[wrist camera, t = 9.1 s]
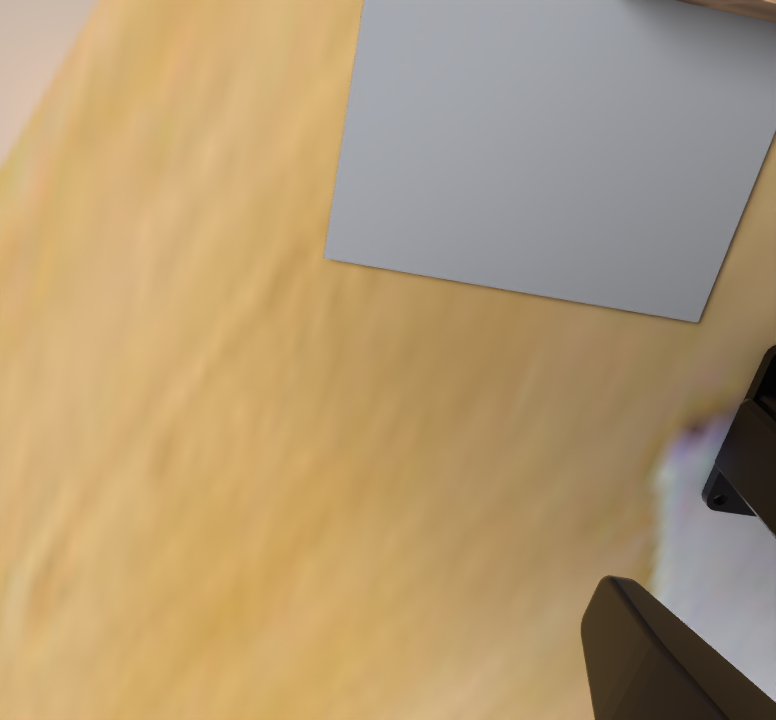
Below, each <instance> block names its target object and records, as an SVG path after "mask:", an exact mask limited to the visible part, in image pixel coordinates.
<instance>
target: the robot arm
mask: <svg viewBox="0 0 776 720" xmlns="http://www.w3.org/2000/svg"><path fill="white" fill-rule="evenodd" d="M718 494H721V496H720V497H718V498H715V496H716V495H718ZM702 499H703V501H704V502H705V503H706V505H707V506H708V507H709V508H710V509H712V510H714V511H721V512H728V513H735V514H742V515H749V516H756V517H758V518H759V519H760V520H761V522H762V523H763V524H764V525H765V526H766V528H767V529H768V530H769V531H770V532H771V534H772V535H773V536H774V537H775V539H776V345H774V346H772V347H771V348H770V349H768V351H767V352H766V353H765V355H764V357H763V359H762V362H761V364H760V366H759V368H758V370H757V373H756V375H755V377H754V379H753V381H752V384H751V386H750V388H749V390H748V392H747V394H746V397H745V399H744V401H743V403H742V404H741V405H740V407H739V410H738V412H737V414H736V416H735V418H734V421H733V423H732V425H731V427H730V429H729V432H728V434H727V436H726V438H725V440H724V442H723V445H722V447H721V449H720V451H719V453H718V456H717V458H716V460H715V465H714V467H713V469H712V471H711V473H710V476H709V478H708V480H707V482H706V484H705V487H704V489H703V491H702ZM581 638H582V645H583V651H584V657H585V663H586V669H587V675H588V681H589V687H590V693H591V699H592V706H593V712H594V718H595V720H776V702H774V701H773V700H772V699H771V698H770V697H769V696H767V695H766V694H765V693H764V692H763V691H762V690H761V689H759V688H758V687H757V686H756V685H755V684H754V683H752V682H751V681H750V680H749V679H748V678H747V677H746V676H744V675H743V674H742V673H741V672H740V671H739V670H737V669H736V668H735V667H734V666H733V665H732V664H731V663H729V662H728V661H727V660H726V659H725V658H724V657H722V656H721V655H720V654H719V653H718V652H717V651H716V650H714V649H713V648H712V647H711V646H710V645H709V644H707V643H706V642H705V641H704V640H703V639H702V638H701V637H699V636H698V635H697V634H696V633H695V632H694V631H693V630H691V629H690V628H689V627H688V626H687V625H686V624H684V623H683V622H682V621H681V620H680V619H679V618H678V617H676V616H675V615H674V614H673V613H672V612H671V611H669V610H668V609H667V608H666V607H665V606H664V605H663V604H661V603H660V602H659V601H658V600H657V599H656V598H654V597H653V596H652V595H651V594H650V593H649V592H648V591H646V590H645V589H644V588H643V587H642V586H641V585H640V584H638V583H637V582H636V581H634V580H632V579H629V578H623V577H617V576H610V575H609V576H605V577H603V578H602V579H601V580H600V582H599V584H598V586H597V588H596V590H595V592H594V594H593V596H592V598H591V600H590V603H589V605H588V607H587V609H586V611H585V613H584V615H583V618H582V622H581Z"/></svg>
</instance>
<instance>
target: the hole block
mask: <svg viewBox="0 0 776 720" xmlns="http://www.w3.org/2000/svg"><path fill="white" fill-rule="evenodd" d="M676 1H680V2H685V3H689V4H694V5H698V6H702V7H707V8H711V9H716V10H720V11H724V12H729V13H733V14H738V15H742V16H747V17H751V18H755V19H760V20H764V21H769V22H773V23H776V0H676Z"/></svg>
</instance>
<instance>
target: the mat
mask: <svg viewBox="0 0 776 720" xmlns="http://www.w3.org/2000/svg"><path fill="white" fill-rule="evenodd" d="M775 131H776V23H773V22H769V21H764V20H760V19H755V18H751V17H747V16H742V15H738V14H733V13H729V12H724V11H720V10H716V9H711V8H707V7H702V6H698V5H694V4H689V3H685V2H680V1H676V0H364V1H363V7H362V14H361V20H360V27H359V33H358V39H357V46H356V52H355V59H354V65H353V71H352V78H351V84H350V91H349V97H348V103H347V110H346V116H345V123H344V129H343V135H342V142H341V148H340V155H339V161H338V167H337V174H336V180H335V186H334V193H333V199H332V206H331V212H330V218H329V225H328V231H327V238H326V244H325V250H324V257H323V258H325V259H331V260H337V261H342V262H348V263H354V264H360V265H366V266H372V267H377V268H383V269H389V270H395V271H401V272H406V273H412V274H418V275H424V276H430V277H435V278H441V279H447V280H453V281H459V282H464V283H470V284H476V285H482V286H488V287H494V288H499V289H505V290H511V291H517V292H523V293H528V294H534V295H540V296H546V297H552V298H557V299H563V300H569V301H575V302H581V303H586V304H592V305H598V306H604V307H610V308H616V309H621V310H627V311H633V312H639V313H645V314H650V315H656V316H662V317H668V318H674V319H679V320H685V321H691V322H697V323H698V321H699V319H700V316H701V314H702V311H703V309H704V306H705V304H706V302H707V299H708V297H709V294H710V292H711V289H712V287H713V284H714V282H715V279H716V277H717V274H718V272H719V269H720V267H721V264H722V262H723V259H724V257H725V254H726V252H727V250H728V247H729V245H730V242H731V240H732V237H733V235H734V232H735V230H736V227H737V225H738V222H739V220H740V217H741V215H742V212H743V210H744V207H745V205H746V203H747V200H748V198H749V195H750V193H751V190H752V188H753V185H754V183H755V180H756V178H757V175H758V173H759V170H760V168H761V165H762V163H763V160H764V158H765V155H766V153H767V151H768V148H769V146H770V143H771V141H772V138H773V136H774V133H775Z"/></svg>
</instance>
